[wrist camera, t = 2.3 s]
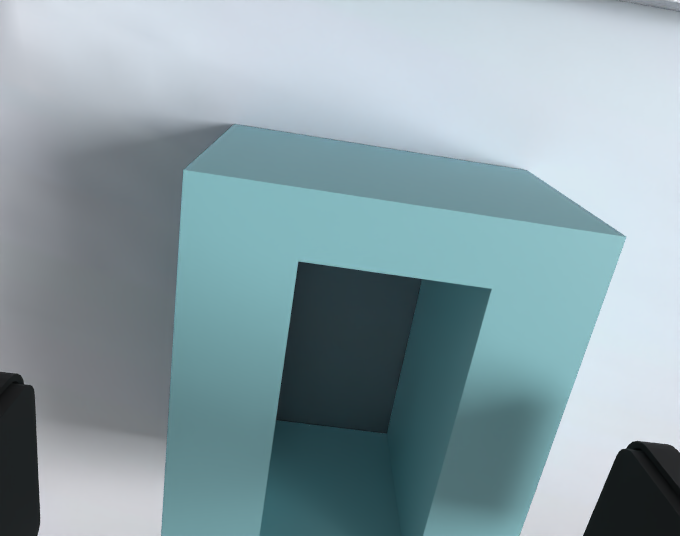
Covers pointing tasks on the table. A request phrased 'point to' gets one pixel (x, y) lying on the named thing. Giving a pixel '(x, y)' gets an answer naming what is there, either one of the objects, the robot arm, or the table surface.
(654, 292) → the table surface
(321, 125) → the table surface
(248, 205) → the block with rectangular hole
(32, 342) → the table surface
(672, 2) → the key base
